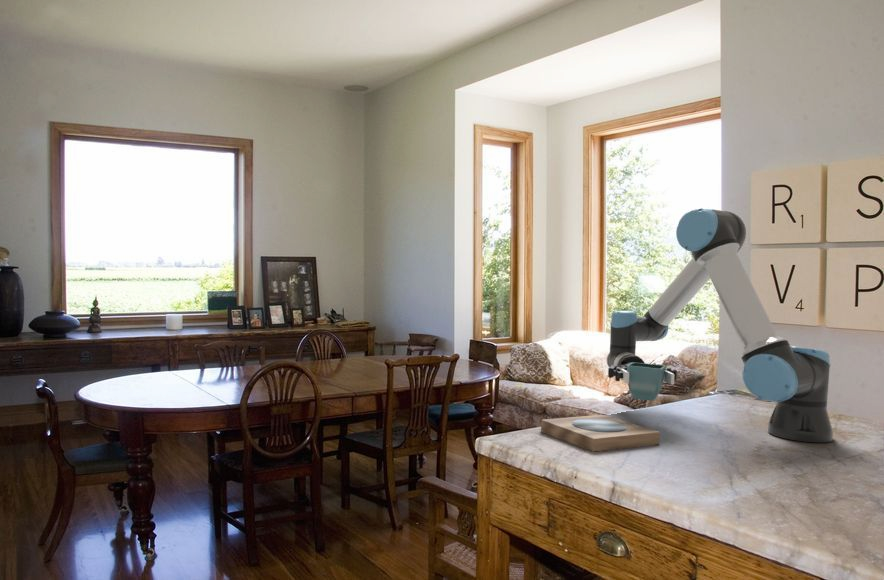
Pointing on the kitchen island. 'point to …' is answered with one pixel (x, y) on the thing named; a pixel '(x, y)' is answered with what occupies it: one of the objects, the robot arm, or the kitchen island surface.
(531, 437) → the kitchen island surface
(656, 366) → the flower pot
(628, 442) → the walnut plinth
